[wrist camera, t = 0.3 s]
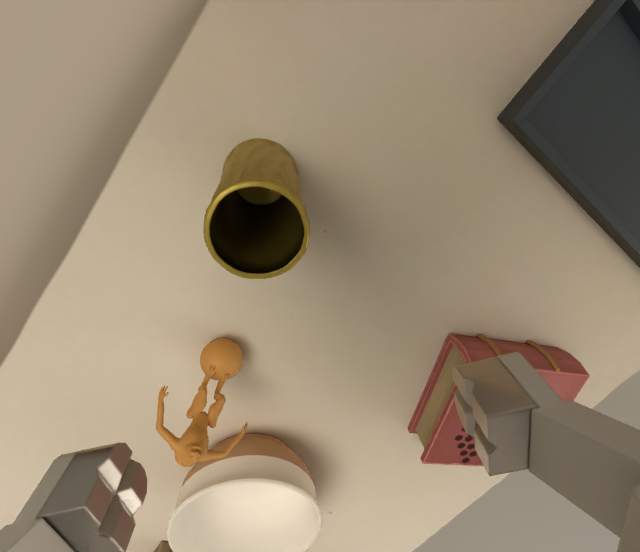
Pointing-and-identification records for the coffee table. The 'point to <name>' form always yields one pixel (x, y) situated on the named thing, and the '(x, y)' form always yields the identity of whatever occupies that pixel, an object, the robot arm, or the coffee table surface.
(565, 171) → the tray
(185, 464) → the figurine
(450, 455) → the book
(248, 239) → the vase
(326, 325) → the coffee table surface
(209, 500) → the bowl
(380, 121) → the coffee table surface
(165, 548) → the block tower
